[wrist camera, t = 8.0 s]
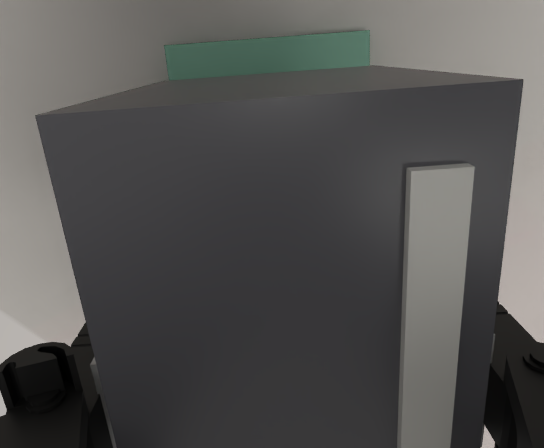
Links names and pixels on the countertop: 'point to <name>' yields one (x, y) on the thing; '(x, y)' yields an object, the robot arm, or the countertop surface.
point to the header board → (268, 55)
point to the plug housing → (290, 254)
